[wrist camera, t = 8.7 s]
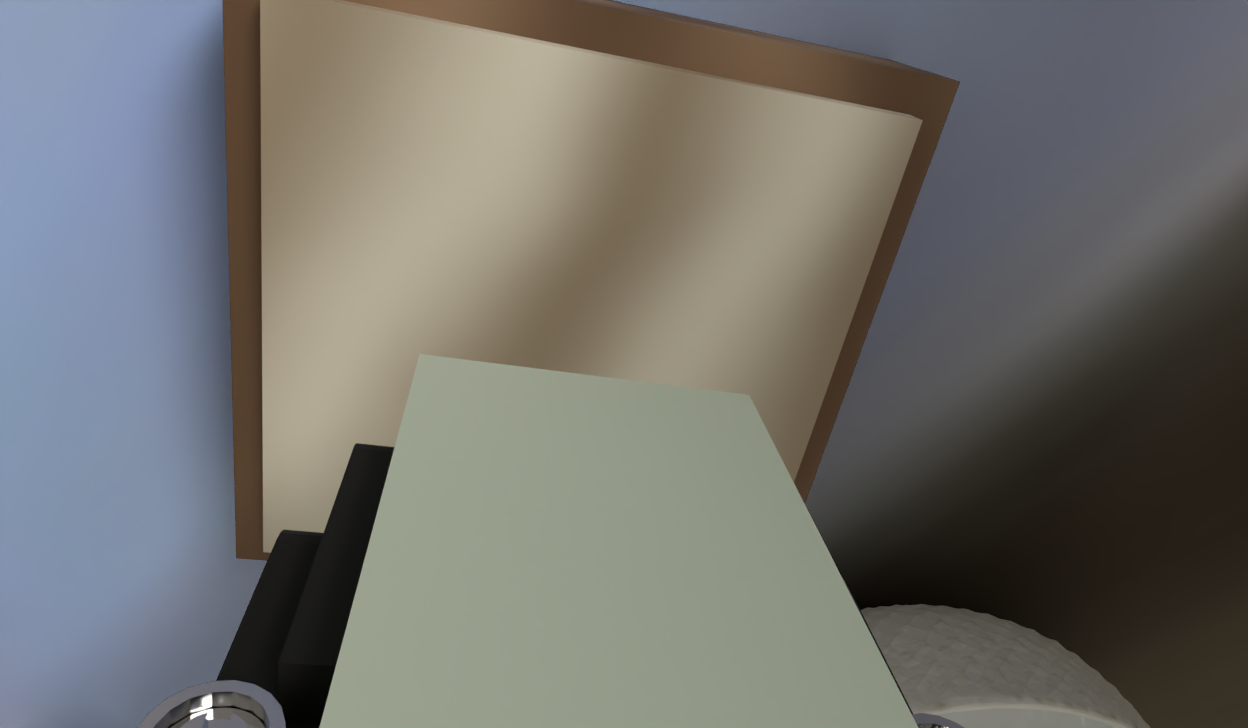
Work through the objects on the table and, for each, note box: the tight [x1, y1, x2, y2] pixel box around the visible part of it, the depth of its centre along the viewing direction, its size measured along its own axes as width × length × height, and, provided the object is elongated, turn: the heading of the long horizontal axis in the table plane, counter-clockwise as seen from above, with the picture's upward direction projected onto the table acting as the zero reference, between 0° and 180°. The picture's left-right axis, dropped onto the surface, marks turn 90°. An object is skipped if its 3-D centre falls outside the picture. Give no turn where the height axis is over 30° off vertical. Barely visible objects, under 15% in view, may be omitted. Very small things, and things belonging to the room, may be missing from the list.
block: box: [319, 354, 918, 728], centre depth 10 cm, size 5×5×7 cm
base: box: [223, 0, 960, 561], centre depth 19 cm, size 14×14×4 cm
